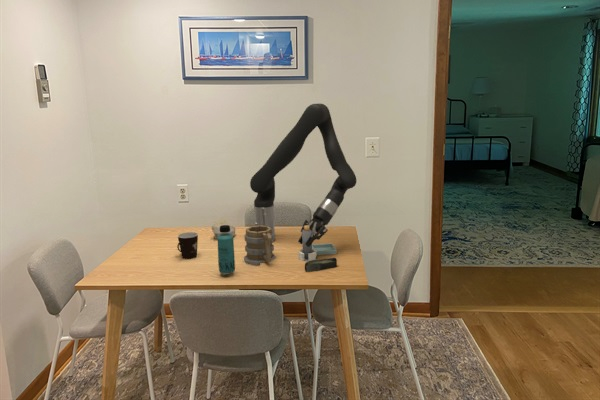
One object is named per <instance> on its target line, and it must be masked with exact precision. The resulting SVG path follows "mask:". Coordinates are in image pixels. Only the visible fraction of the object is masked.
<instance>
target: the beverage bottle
mask: <svg viewBox="0 0 600 400" xmlns="http://www.w3.org/2000/svg"><path fill="white" fill-rule="evenodd" d="M229 225H230V224H229ZM229 225H222V226H220V232H223V233H222V234H220V235H219V236H218V237H217V238H216V239H217V259H218V260H217V261H218V264H217V266H218V272H219V273H220V274H223V275H227V274H228V275H229V274H232V273H234V272H235V271H236V259H235V245H234V242H235V241H234V236H233V235H231V234H230V233H225V232H230V226H229Z"/></svg>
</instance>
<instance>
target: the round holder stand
mask: <svg viewBox="0 0 600 400" xmlns="http://www.w3.org/2000/svg"><path fill="white" fill-rule="evenodd" d="M297 254H298V255H297V259H298V260H300V261H302V262H308V261H311V260H317V256H318V255H317V250H315V249H312V253H309V254H308V260H306V259H304V253H303V248H301V249H299V251H298V252H297Z"/></svg>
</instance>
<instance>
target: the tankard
mask: <svg viewBox="0 0 600 400" xmlns="http://www.w3.org/2000/svg"><path fill="white" fill-rule="evenodd" d="M243 236H244V241H245V242H246V243H245V244H246V245H245V246H244V250H245V253H246V255H244V256H243V260H244V261H245V263H246V264H247V265H251V266H261V264H265V263H270V262H272V261H273V260H275V259H276V258H277V256H276V255H275V254H274V253H273V251H274V250H275V248H274V247H275V246H274V244H273V242H272V240H273V234H272V230H271V228H270V227H269V226H262V225H260V226H259V225H258V226H255V225H252V226H249V227H246V229H245V234H244V235H243Z"/></svg>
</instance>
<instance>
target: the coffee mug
mask: <svg viewBox="0 0 600 400" xmlns="http://www.w3.org/2000/svg"><path fill="white" fill-rule="evenodd" d="M198 236H199V234H198V233H197V232H194V231H190V232H189V231H188V232H182V233H179V234H177V239H178V243H177V246H176V248H177V251H178V252H179V253H180V254H181V258H182V259H183V260H193V259H196V258H197V256H198V240H199V237H198Z"/></svg>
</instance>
